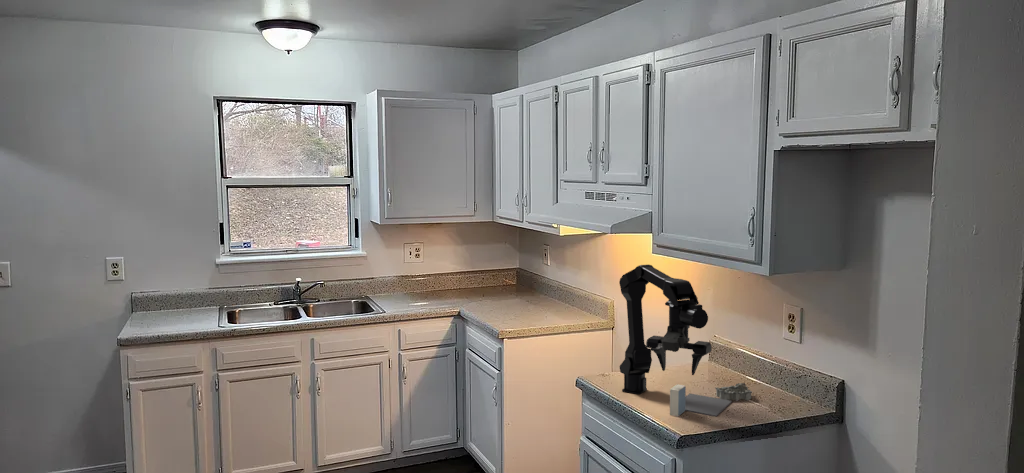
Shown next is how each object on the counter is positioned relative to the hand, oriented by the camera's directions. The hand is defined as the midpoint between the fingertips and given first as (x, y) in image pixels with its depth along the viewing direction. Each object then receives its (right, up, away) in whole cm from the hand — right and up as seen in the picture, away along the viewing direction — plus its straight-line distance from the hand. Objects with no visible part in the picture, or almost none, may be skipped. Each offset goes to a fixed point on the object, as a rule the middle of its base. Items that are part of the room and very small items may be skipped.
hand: (678, 372), depth 216 cm
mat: (+9, -12, +8) cm, 17 cm away
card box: (0, -13, +1) cm, 13 cm away
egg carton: (+22, -11, +16) cm, 29 cm away
